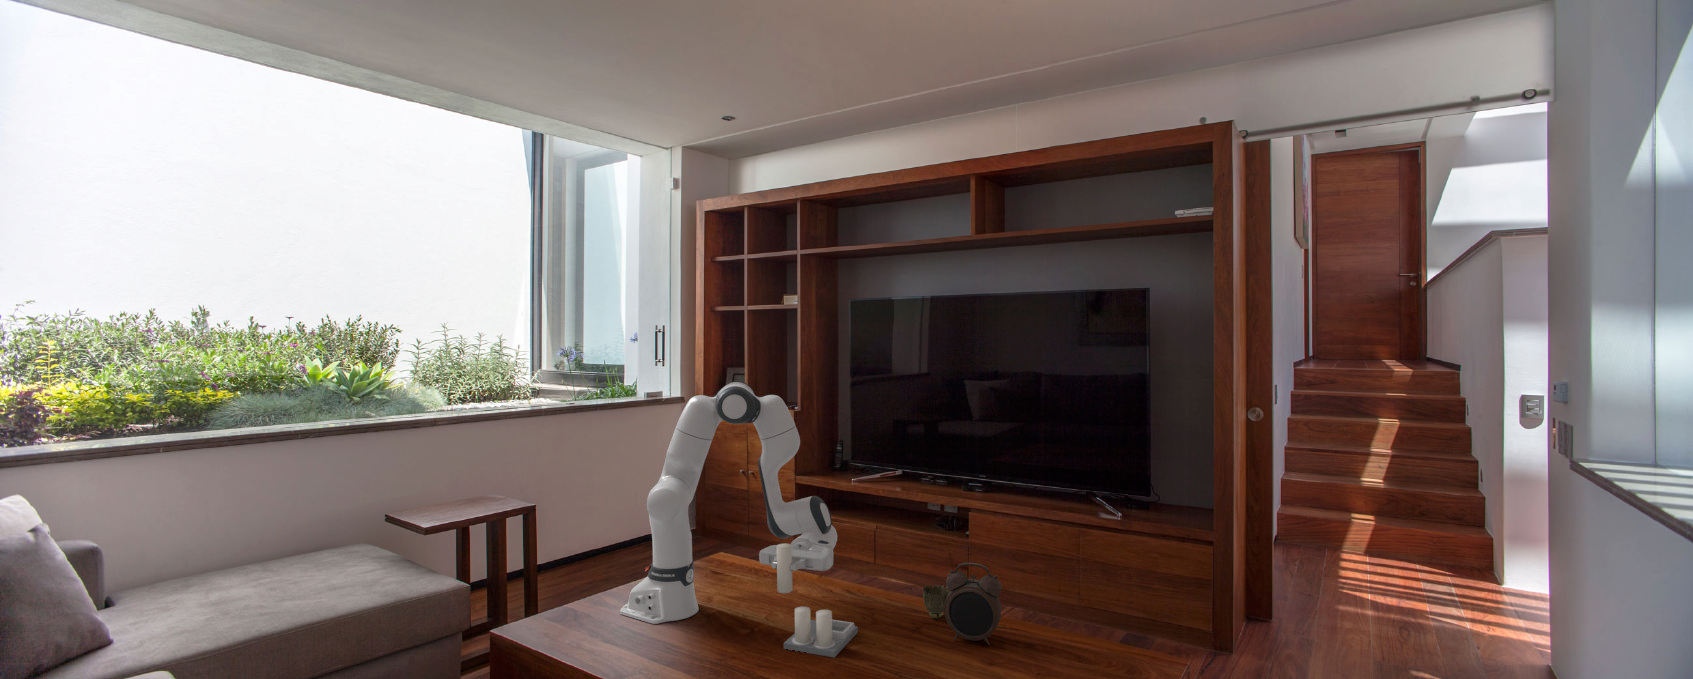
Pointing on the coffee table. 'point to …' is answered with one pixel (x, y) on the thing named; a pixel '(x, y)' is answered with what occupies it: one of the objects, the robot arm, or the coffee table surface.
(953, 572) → the alarm clock
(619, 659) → the coffee table surface
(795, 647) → the pin board
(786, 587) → the ivory pin
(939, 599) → the cup
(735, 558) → the coffee table surface
